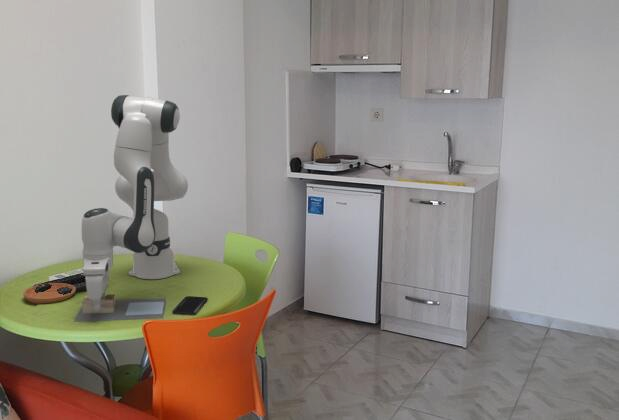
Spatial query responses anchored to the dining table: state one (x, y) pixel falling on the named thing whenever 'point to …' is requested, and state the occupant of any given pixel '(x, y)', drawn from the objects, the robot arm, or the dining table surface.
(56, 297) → the saucer
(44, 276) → the dining table surface
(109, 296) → the card box
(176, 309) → the phone
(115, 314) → the mat
